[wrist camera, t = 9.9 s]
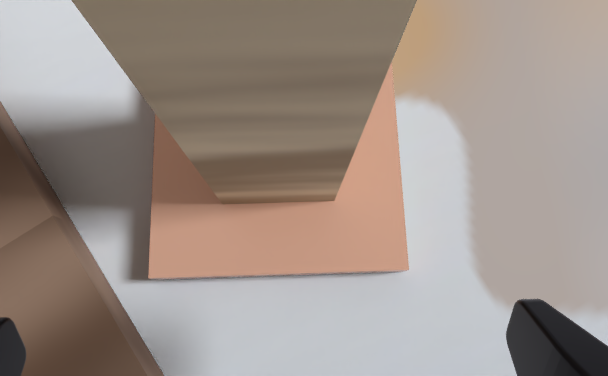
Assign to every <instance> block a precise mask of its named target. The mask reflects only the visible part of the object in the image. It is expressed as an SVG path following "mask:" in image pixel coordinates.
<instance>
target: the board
mask: <svg viewBox="0 0 608 376" xmlns="http://www.w3.org/2000/svg"><path fill="white" fill-rule="evenodd" d="M0 317H8V318H10V319H12V320H13V322H14V323H15V326H16V328H17V330H18V332H19V334H20V337H21V339H22V341H23V343H24V345H25V348H26V361H25V365H24V368H23V371H22V374H21V376H164V375H163V373H162V371H161V370H160V368H159V366H158V365H157V363H156V361H155V360H154V358H153V356H152V355H151V353H150V351H149V350H148V348H147V346H146V345H145V343H144V341H143V340H142V338H141V336H140V335H139V333H138V331H137V330H136V328H135V326H134V324H133V323H132V321H131V319H130V318H129V316H128V314H127V313H126V311H125V309H124V308H123V306H122V304H121V303H120V301H119V299H118V298H117V296H116V294H115V293H114V291H113V289H112V288H111V286H110V284H109V283H108V281H107V279H106V278H105V276H104V274H103V273H102V271H101V269H100V268H99V266H98V264H97V262H96V261H95V259H94V257H93V256H92V254H91V252H90V251H89V249H88V247H87V246H86V244H85V242H84V241H83V239H82V237H81V236H80V234H79V232H78V231H77V229H76V227H75V226H74V224H73V222H72V221H71V219H70V217H69V216H68V214H67V212H66V211H65V209H64V207H63V206H62V204H61V202H60V201H59V199H58V197H57V195H56V194H55V192H54V190H53V189H52V187H51V185H50V184H49V182H48V180H47V179H46V177H45V175H44V174H43V172H42V170H41V169H40V167H39V165H38V164H37V162H36V160H35V159H34V157H33V155H32V154H31V152H30V150H29V149H28V147H27V145H26V144H25V142H24V140H23V139H22V137H21V135H20V133H19V132H18V130H17V128H16V127H15V125H14V123H13V122H12V120H11V118H10V117H9V115H8V113H7V112H6V110H5V108H4V107H3V105H2V103H1V102H0Z"/></svg>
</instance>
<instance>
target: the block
mask: <svg viewBox="0 0 608 376" xmlns="http://www.w3.org/2000/svg"><path fill="white" fill-rule="evenodd" d="M416 1H417V0H72V2H73V3H74V4H75V6H76V7H77V8H78V10H79V11H80V12H81V14H82V15H83V17H84V18H85V19H86V21H87V22H88V23H89V25H90V26H91V27H92V29H93V30H94V31H95V33H96V34H97V35H98V37H99V38H100V39H101V41H102V42H103V44H104V45H105V46H106V48H107V49H108V50H109V52H110V53H111V54H112V56H113V57H114V58H115V60H116V61H117V62H118V64H119V65H120V67H121V68H122V69H123V71H124V72H125V73H126V75H127V76H128V77H129V79H130V80H131V81H132V83H133V84H134V85H135V87H136V88H137V89H138V91H139V92H140V94H141V95H142V96H143V98H144V99H145V100H146V102H147V103H148V104H149V106H150V107H151V108H152V110H153V111H154V112H155V114H156V115H157V116H158V118H159V119H160V121H161V122H162V123H163V125H164V126H165V127H166V129H167V130H168V131H169V133H170V134H171V135H172V137H173V138H174V139H175V141H176V142H177V143H178V145H179V146H180V148H181V149H182V150H183V152H184V153H185V154H186V156H187V157H188V158H189V160H190V161H191V162H192V164H193V165H194V166H195V168H196V169H197V171H198V172H199V173H200V175H201V176H202V177H203V179H204V180H205V181H206V183H207V184H208V185H209V187H210V188H211V189H212V191H213V192H214V193H215V195H216V196H217V198H218V199H219V200H220V202H221V203H222V204H250V203H282V202H314V201H335V198H336V196H337V193H338V191H339V189H340V186H341V184H342V181H343V179H344V176H345V174H346V171H347V169H348V167H349V164H350V162H351V159H352V157H353V154H354V152H355V150H356V147H357V145H358V142H359V140H360V137H361V135H362V132H363V130H364V128H365V125H366V123H367V120H368V118H369V115H370V113H371V111H372V108H373V106H374V103H375V101H376V98H377V96H378V94H379V91H380V89H381V86H382V84H383V81H384V79H385V76H386V74H387V72H388V69H389V67H390V64H391V62H392V59H393V57H394V54H395V52H396V50H397V47H398V45H399V42H400V40H401V37H402V35H403V32H404V30H405V27H406V25H407V23H408V20H409V18H410V15H411V13H412V11H413V8H414V6H415V3H416Z"/></svg>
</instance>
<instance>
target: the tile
mask: <svg viewBox="0 0 608 376" xmlns="http://www.w3.org/2000/svg"><path fill="white" fill-rule="evenodd" d="M392 72H393V71H392V62H391V64H390V67H389V69H388V72H387V74H386V76H385V79H384V81H383V84H382V86H381V89H380V91H379V94H378V96H377V98H376V101H375V103H374V106H373V108H372V111H371V113H370V115H369V118H368V120H367V123H366V125H365V128H364V130H363V132H362V135H361V137H360V140H359V142H358V145H357V147H356V150H355V152H354V154H353V157H352V159H351V162H350V164H349V167H348V169H347V171H346V174H345V176H344V179H343V181H342V184H341V186H340V189H339V191H338V193H337V196H336V198H335V201H314V202H282V203H250V204H222V203H221V202H220V200H219V199H218V198H217V196H216V195H215V193H214V192H213V191H212V189H211V188H210V187H209V185H208V184H207V183H206V181H205V180H204V179H203V177H202V176H201V175H200V173H199V172H198V171H197V169H196V168H195V166H194V165H193V164H192V162H191V161H190V160H189V158H188V157H187V156H186V154H185V153H184V152H183V150H182V149H181V148H180V146H179V145H178V143H177V142H176V141H175V139H174V138H173V137H172V135H171V134H170V133H169V131H168V130H167V129H166V127H165V126H164V125H163V123H162V122H161V121H160V119H159V118H158V116H157V115H156V114H155V129H154V154H153V178H152V202H151V226H150V250H149V274H148V278H149V279H156V280H160V279H191V278H222V277H253V276H284V275H315V274H345V273H376V272H403V271H407V270H409V265H408V253H407V241H406V229H405V217H404V204H403V192H402V180H401V168H400V156H399V144H398V132H397V120H396V108H395V95H394V83H393V73H392Z"/></svg>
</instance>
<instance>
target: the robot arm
mask: <svg viewBox="0 0 608 376" xmlns="http://www.w3.org/2000/svg"><path fill="white" fill-rule="evenodd" d="M506 339H507V344H508V348H509V351H510V354H511V357H512V360H513V364H514V367H515V370H516V373H517V376H608V346H607V345H605V344H604V343H603V342H601V341H600V340H598V339H597V338H596V337H594V336H593V335H591V334H590V333H588V332H587V331H586V330H584V329H583V328H581V327H580V326H579V325H577V324H576V323H574V322H573V321H571V320H570V319H569V318H567V317H566V316H564V315H563V314H562V313H560V312H559V311H557V310H556V309H554V308H553V307H552V306H550V305H549V304H547V303H546V302H544V301H543V300H540V299H521V300H518V301H517V302H516V303H515V305H514V308H513V311H512V314H511V318H510V321H509V324H508V328H507V332H506ZM25 361H26V348H25V345H24V343H23V341H22V339H21V337H20V334H19V332H18V330H17V328H16V326H15V323H14V322H13V320H12V319H10V318H8V317H0V376H21V374H22V371H23V368H24V365H25Z"/></svg>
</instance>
